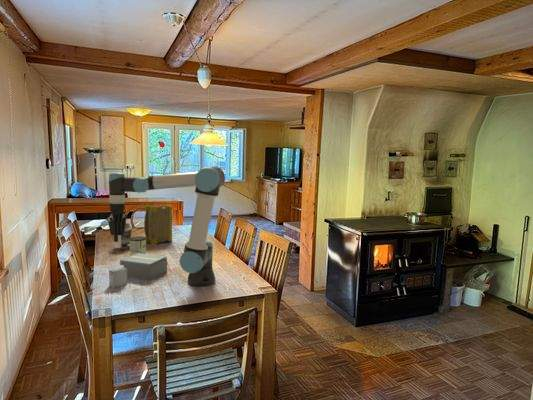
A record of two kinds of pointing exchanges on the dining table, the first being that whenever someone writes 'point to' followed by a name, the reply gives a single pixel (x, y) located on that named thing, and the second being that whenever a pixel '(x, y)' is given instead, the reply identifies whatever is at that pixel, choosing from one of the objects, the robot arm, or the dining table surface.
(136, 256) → the lid
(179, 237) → the dining table surface
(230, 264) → the dining table surface
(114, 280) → the medicine box
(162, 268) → the crate
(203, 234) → the robot arm
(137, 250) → the coffee can
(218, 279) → the dining table surface
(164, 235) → the decorative book
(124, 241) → the apothecary jar
